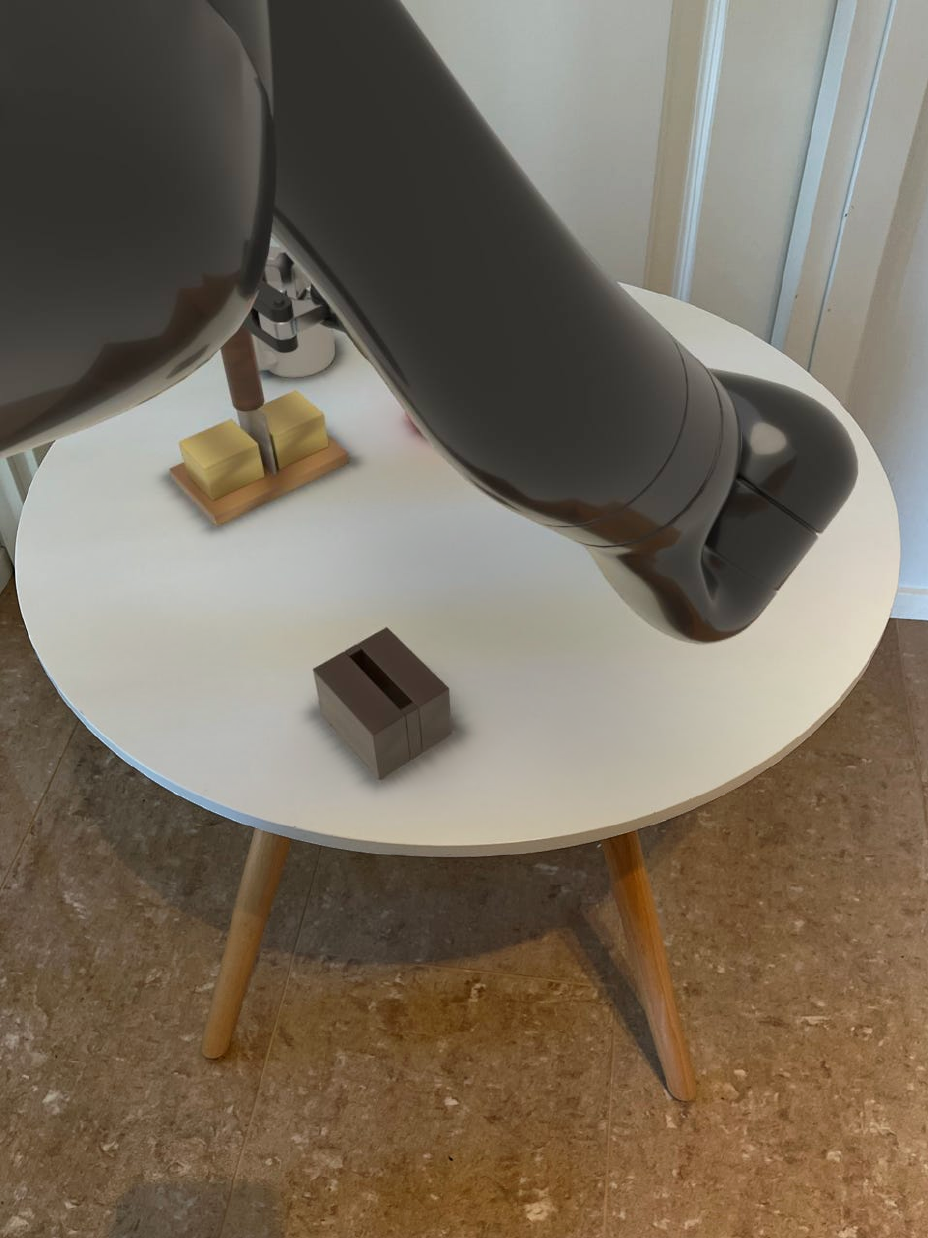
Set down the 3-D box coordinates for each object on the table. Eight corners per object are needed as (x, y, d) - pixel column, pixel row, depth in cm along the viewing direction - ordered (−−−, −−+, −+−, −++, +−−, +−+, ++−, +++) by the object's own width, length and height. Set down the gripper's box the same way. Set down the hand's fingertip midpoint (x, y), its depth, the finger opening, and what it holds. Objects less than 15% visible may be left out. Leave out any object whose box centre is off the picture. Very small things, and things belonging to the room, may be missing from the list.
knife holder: (379, 781, 69) (372, 735, 65) (321, 715, 73) (312, 668, 69) (452, 735, 71) (449, 688, 68) (392, 673, 75) (386, 626, 72)
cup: (351, 353, 103) (341, 268, 97) (281, 403, 98) (266, 317, 92) (296, 330, 106) (283, 247, 100) (225, 378, 101) (207, 293, 94)
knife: (262, 481, 88) (229, 322, 78) (233, 452, 91) (196, 295, 80) (289, 468, 90) (259, 310, 79) (259, 440, 92) (226, 283, 81)
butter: (217, 527, 86) (205, 483, 83) (172, 479, 91) (159, 435, 87) (349, 463, 92) (343, 419, 88) (300, 420, 96) (293, 377, 93)
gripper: (580, 214, 51) (384, 110, 59) (331, 316, 45) (155, 184, 54) (571, 350, 56) (393, 236, 65) (348, 457, 50) (186, 316, 59)
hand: (286, 213), depth 59 cm, fingers open, 8 cm apart
